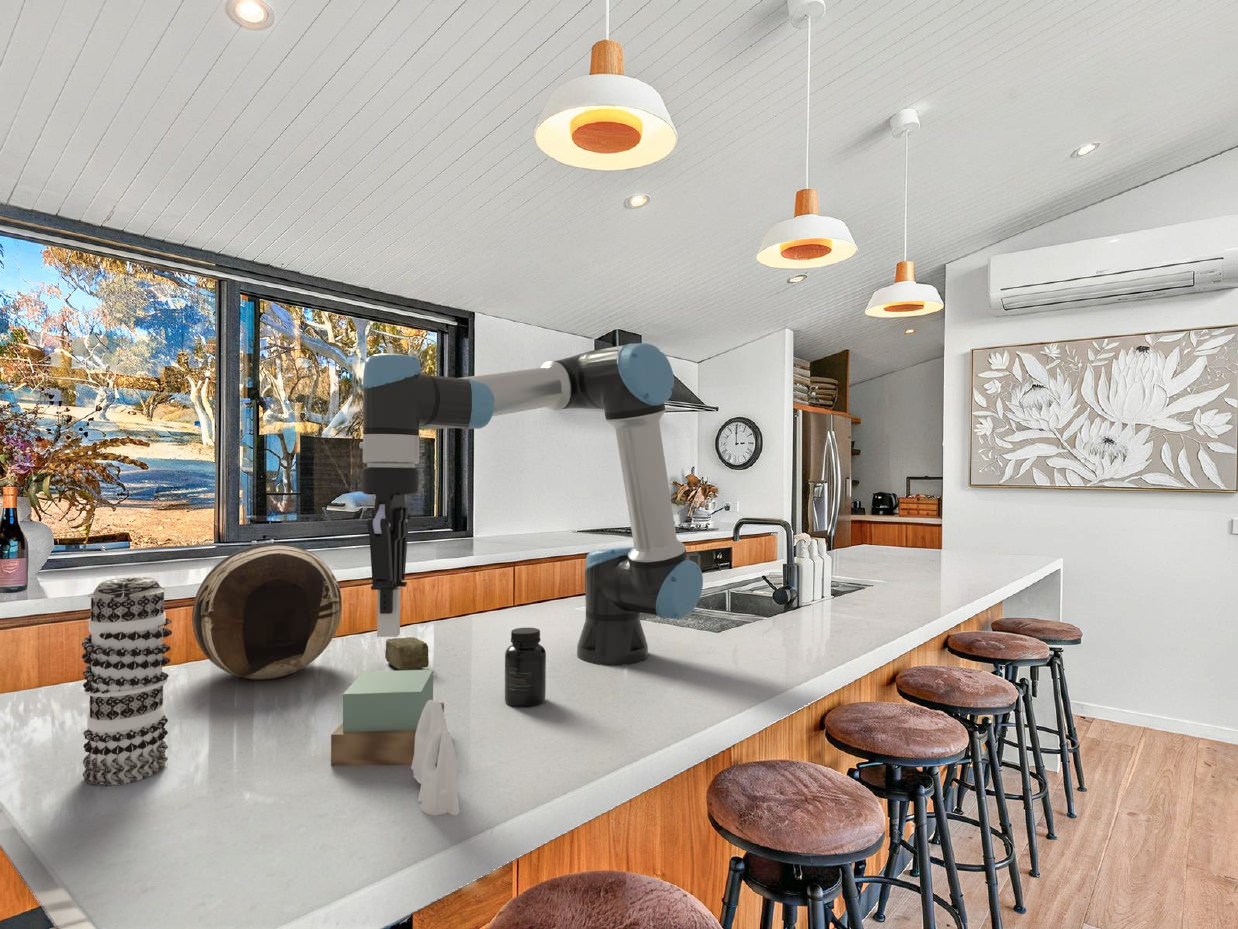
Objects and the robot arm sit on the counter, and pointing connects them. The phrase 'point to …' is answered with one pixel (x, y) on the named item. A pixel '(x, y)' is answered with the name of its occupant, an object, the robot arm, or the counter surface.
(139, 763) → the decorative candle
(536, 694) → the supplement bottle
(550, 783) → the counter surface
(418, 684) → the sage top block
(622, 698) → the counter surface
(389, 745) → the walnut base block
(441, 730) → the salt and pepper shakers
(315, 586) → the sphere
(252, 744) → the counter surface
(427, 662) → the stone block
